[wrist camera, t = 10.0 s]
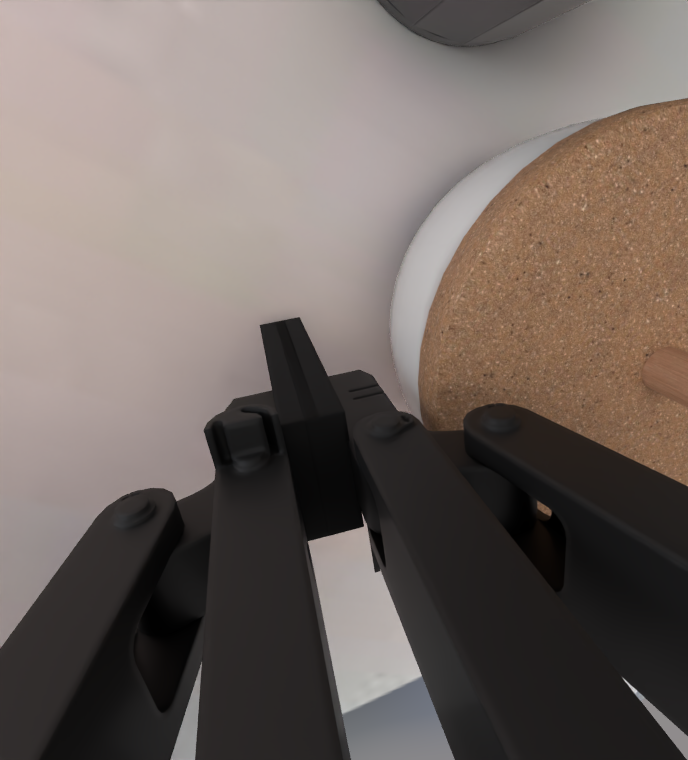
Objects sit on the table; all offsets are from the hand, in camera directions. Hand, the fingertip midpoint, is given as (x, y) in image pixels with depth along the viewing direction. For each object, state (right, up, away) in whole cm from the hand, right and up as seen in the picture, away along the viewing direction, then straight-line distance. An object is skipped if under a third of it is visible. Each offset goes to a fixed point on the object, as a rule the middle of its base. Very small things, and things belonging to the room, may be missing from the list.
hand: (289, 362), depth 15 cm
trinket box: (+7, +3, +3) cm, 8 cm away
